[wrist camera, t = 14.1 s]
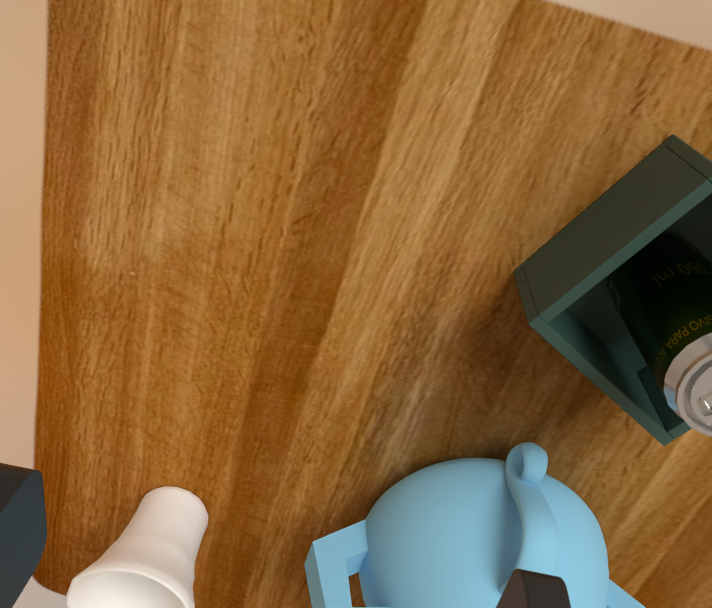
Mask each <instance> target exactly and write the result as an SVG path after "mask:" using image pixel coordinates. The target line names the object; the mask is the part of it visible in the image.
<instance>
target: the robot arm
mask: <svg viewBox="0 0 712 608" xmlns="http://www.w3.org/2000/svg"><path fill="white" fill-rule="evenodd" d="M46 538H47V525H46V513H45V501H44V489H43V478H42V474H41V473H40V471H38V470H33V469H28V468H23V467H18V466H13V465H8V464H3V463H0V608H12V607H13V605H14V604H15V602H16V600H17V599H18V597H19V595H20V594H21V592H22V591H23V589H24V587H25V586H26V584H27V582H28V581H29V579H30V578H31V576H32V574H33V573H34V571H35V569H36V567H37V565H38V563H39V561H40V559H41V556H42V554H43V551H44V547H45V543H46ZM496 608H571V604H570V600H569V595H568V591H567V587H566V584H565V582H564V580H563V579H562V578H561V577H558V576H553V575H548V574H543V573H538V572H533V571H528V570H523V569H515V570H514V571H513V572H512V574H511V576H510V578H509V580H508V582H507V585H506V587H505V589H504V591H503V593H502V595H501V598H500V600H499V602H498V604H497V606H496Z"/></svg>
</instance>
